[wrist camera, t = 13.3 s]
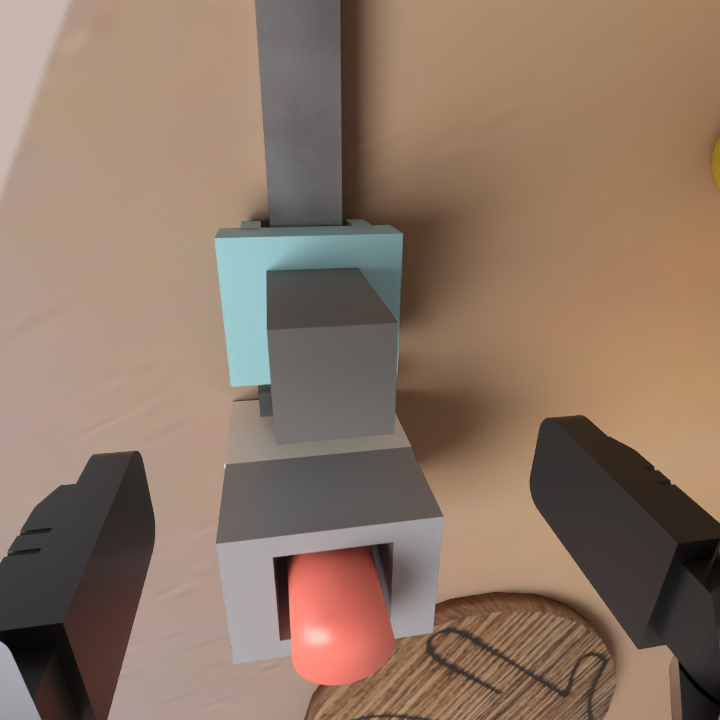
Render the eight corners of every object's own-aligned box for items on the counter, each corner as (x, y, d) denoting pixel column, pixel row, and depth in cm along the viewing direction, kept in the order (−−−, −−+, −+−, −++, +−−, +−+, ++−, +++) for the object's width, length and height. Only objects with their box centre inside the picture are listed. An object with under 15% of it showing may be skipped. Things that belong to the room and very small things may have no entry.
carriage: (223, 221, 22) (189, 285, 12) (380, 218, 23) (464, 274, 13) (236, 349, 24) (217, 486, 14) (377, 340, 25) (447, 463, 16)
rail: (216, -141, 17) (207, -199, 14) (358, -128, 18) (376, -179, 15) (260, 385, 25) (260, 416, 22) (356, 378, 26) (368, 408, 23)
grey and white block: (232, 401, 25) (214, 544, 16) (384, 390, 27) (444, 516, 18) (242, 495, 28) (232, 664, 19) (381, 480, 29) (433, 632, 20)
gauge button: (282, 496, 21) (289, 622, 15) (363, 487, 21) (396, 606, 16) (287, 557, 22) (294, 692, 17) (362, 547, 23) (393, 676, 17)
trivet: (444, 540, 32) (454, 562, 31) (658, 647, 42) (674, 669, 40) (238, 762, 38) (237, 792, 36) (466, 814, 47) (474, 839, 46)
